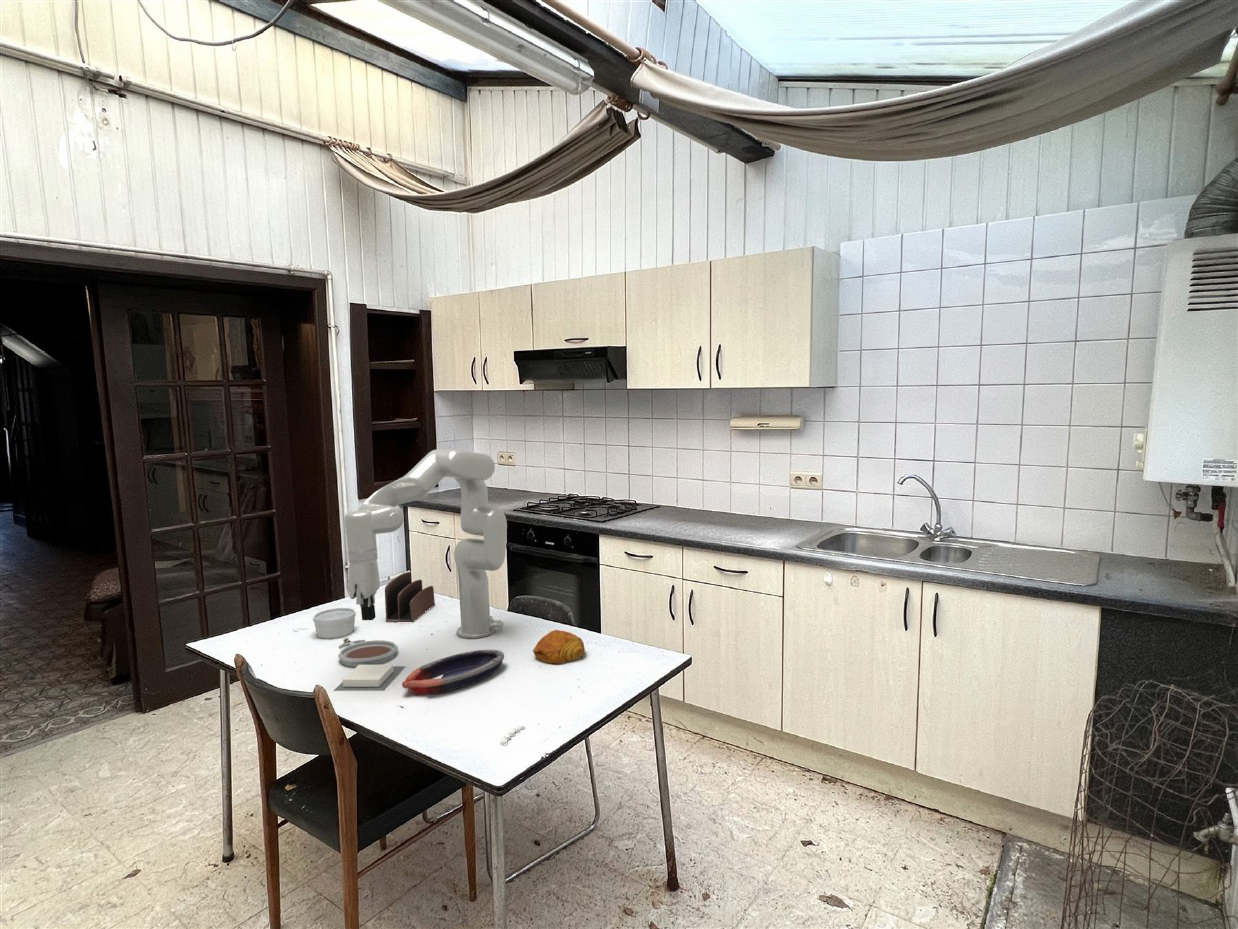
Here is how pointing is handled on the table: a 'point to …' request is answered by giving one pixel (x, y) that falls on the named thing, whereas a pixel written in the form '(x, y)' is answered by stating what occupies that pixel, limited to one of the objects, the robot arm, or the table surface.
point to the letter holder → (407, 599)
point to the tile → (368, 676)
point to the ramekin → (334, 622)
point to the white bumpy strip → (511, 733)
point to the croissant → (559, 647)
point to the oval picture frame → (366, 652)
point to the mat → (381, 688)
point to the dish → (453, 671)
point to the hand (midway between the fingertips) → (368, 619)
